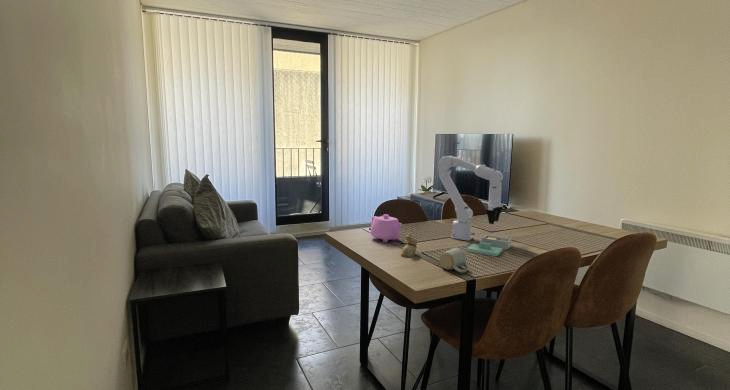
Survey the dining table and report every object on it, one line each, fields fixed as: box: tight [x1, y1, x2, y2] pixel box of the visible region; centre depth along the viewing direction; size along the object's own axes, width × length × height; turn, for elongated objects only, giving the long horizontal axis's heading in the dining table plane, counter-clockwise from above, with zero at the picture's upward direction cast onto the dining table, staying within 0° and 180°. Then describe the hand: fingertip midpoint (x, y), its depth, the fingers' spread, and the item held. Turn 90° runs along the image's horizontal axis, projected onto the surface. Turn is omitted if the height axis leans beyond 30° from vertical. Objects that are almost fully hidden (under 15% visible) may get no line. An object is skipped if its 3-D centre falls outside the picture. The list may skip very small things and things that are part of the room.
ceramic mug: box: [439, 247, 469, 274], centre depth 154 cm, size 11×8×8 cm
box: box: [481, 234, 513, 251], centre depth 189 cm, size 12×8×4 cm, turn 57°
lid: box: [466, 241, 504, 257], centre depth 180 cm, size 14×10×4 cm
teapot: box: [370, 213, 403, 243], centre depth 196 cm, size 20×12×13 cm, turn 43°
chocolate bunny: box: [400, 232, 418, 257], centre depth 172 cm, size 6×8×10 cm
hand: (493, 222), depth 195 cm, fingers open, 7 cm apart
